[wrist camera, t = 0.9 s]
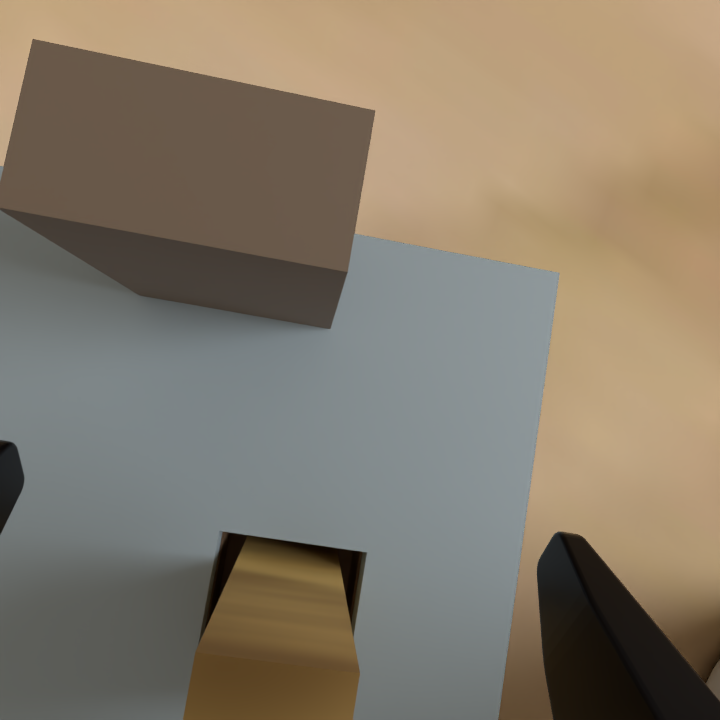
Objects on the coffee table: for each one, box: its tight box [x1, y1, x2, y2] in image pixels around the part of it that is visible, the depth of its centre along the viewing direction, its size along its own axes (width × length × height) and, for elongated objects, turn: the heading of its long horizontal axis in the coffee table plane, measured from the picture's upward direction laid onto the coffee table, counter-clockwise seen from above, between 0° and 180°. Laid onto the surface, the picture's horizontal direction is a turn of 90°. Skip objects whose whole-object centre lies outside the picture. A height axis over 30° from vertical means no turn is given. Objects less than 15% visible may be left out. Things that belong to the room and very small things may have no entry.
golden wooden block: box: [183, 535, 360, 720], centre depth 16 cm, size 3×3×10 cm
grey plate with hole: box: [0, 39, 559, 720], centre depth 14 cm, size 16×20×9 cm
